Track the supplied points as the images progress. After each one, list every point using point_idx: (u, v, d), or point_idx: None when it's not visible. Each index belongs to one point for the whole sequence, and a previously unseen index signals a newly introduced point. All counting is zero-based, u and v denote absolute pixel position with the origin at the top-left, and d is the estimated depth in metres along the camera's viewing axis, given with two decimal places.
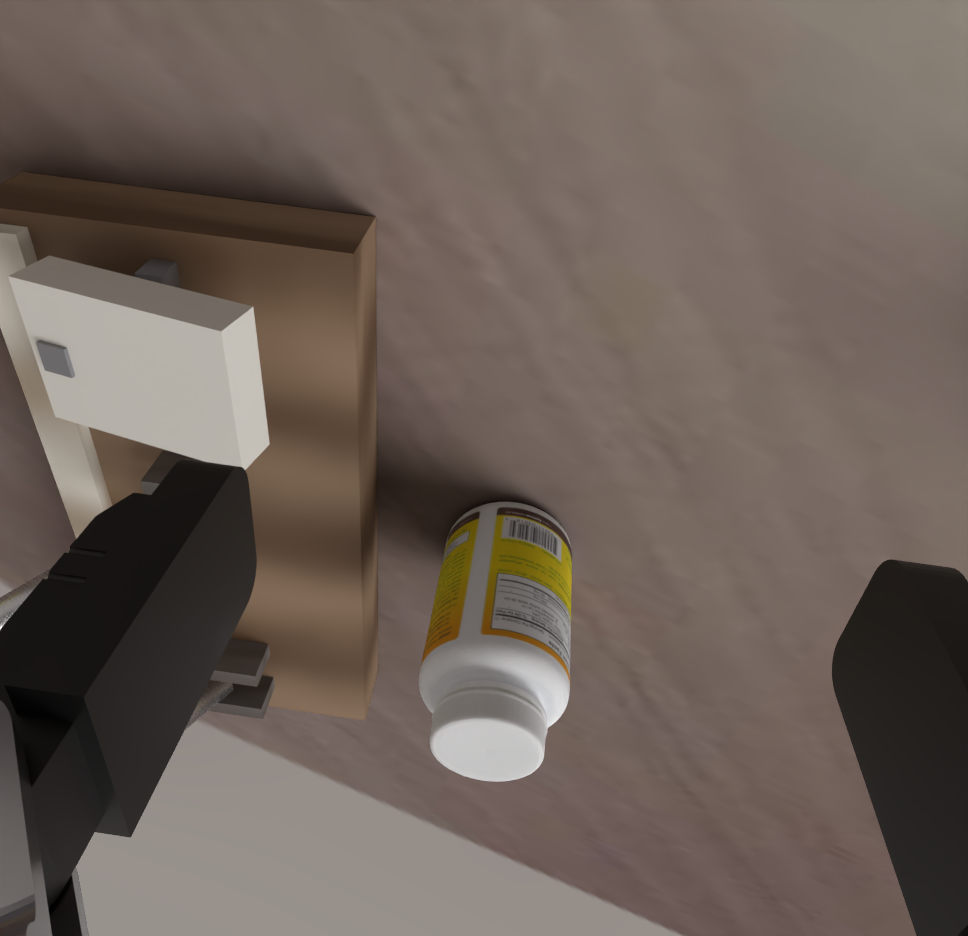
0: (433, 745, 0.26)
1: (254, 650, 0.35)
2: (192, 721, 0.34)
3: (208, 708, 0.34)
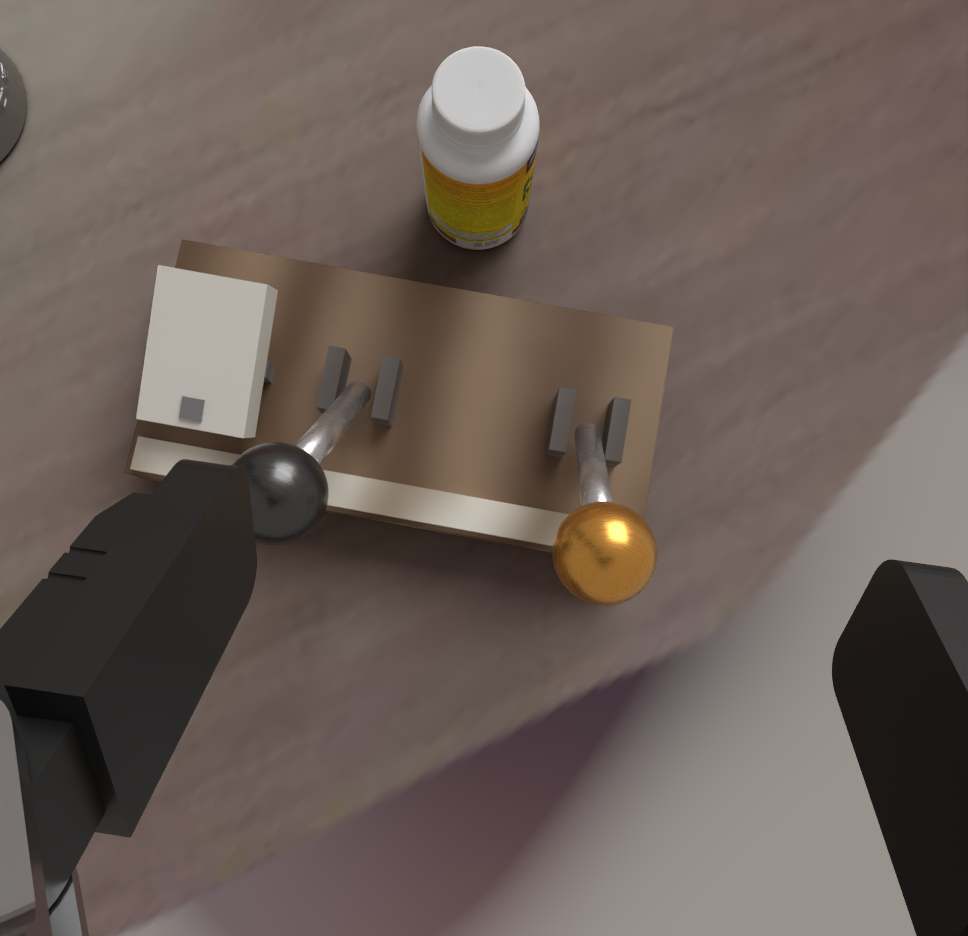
0: (472, 128, 0.31)
1: (554, 403, 0.37)
2: (593, 439, 0.33)
3: (592, 432, 0.34)
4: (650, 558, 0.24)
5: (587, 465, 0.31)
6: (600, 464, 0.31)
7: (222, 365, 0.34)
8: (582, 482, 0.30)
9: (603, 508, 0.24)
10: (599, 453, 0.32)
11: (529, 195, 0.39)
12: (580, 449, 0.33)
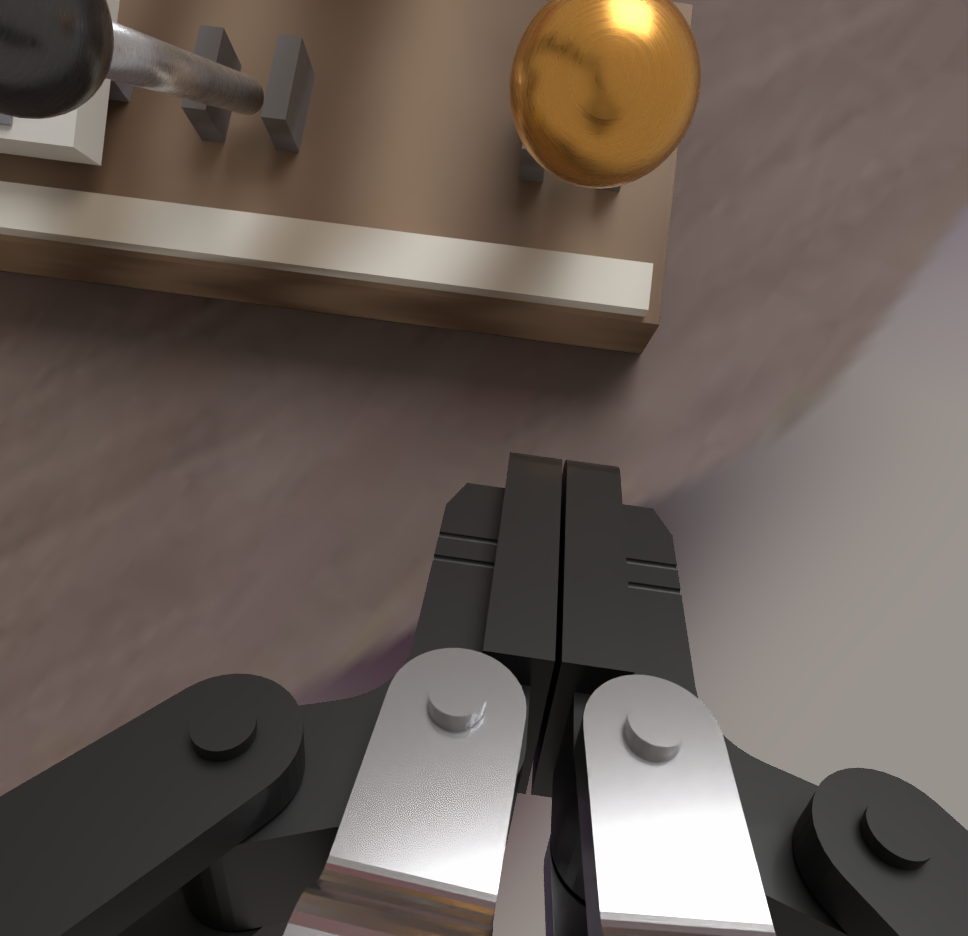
0: None
1: None
2: None
3: None
4: (689, 50, 0.13)
5: None
6: None
7: None
8: None
9: None
10: None
11: None
12: None
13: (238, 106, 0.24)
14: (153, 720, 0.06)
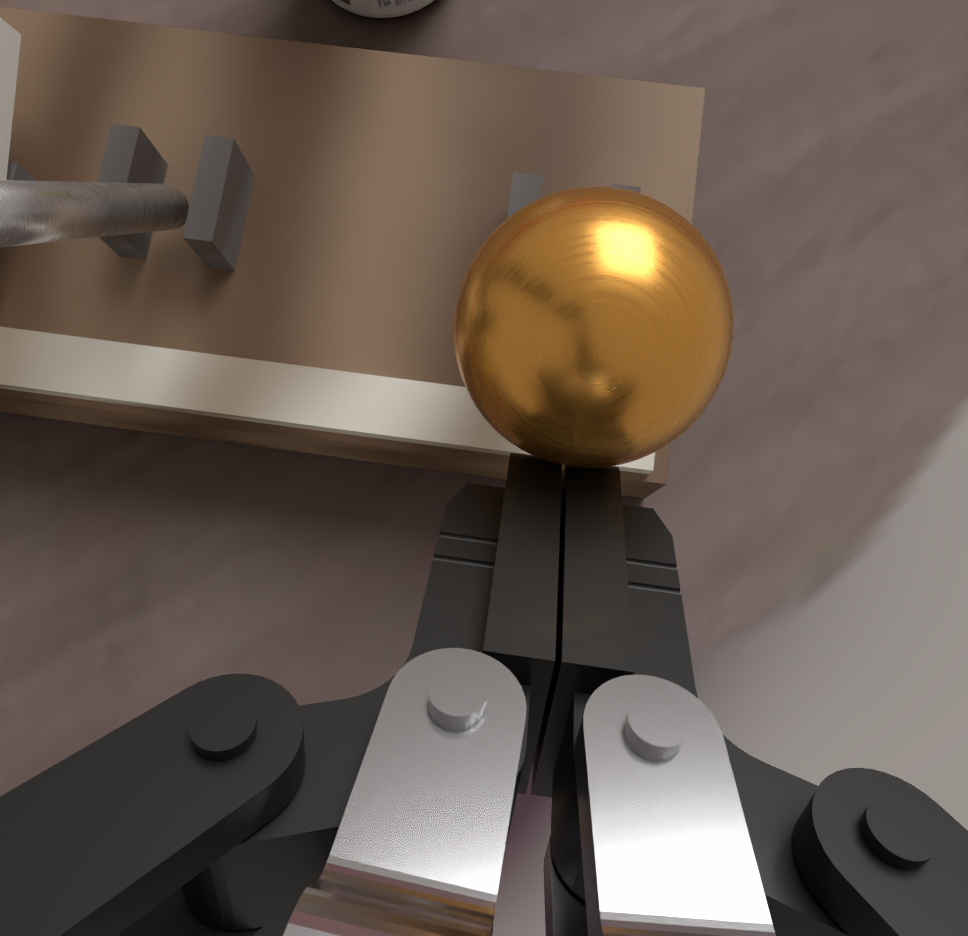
0: None
1: None
2: None
3: None
4: (719, 307, 0.08)
5: None
6: None
7: None
8: None
9: (579, 188, 0.09)
10: None
11: None
12: None
13: (153, 228, 0.19)
14: (153, 720, 0.06)
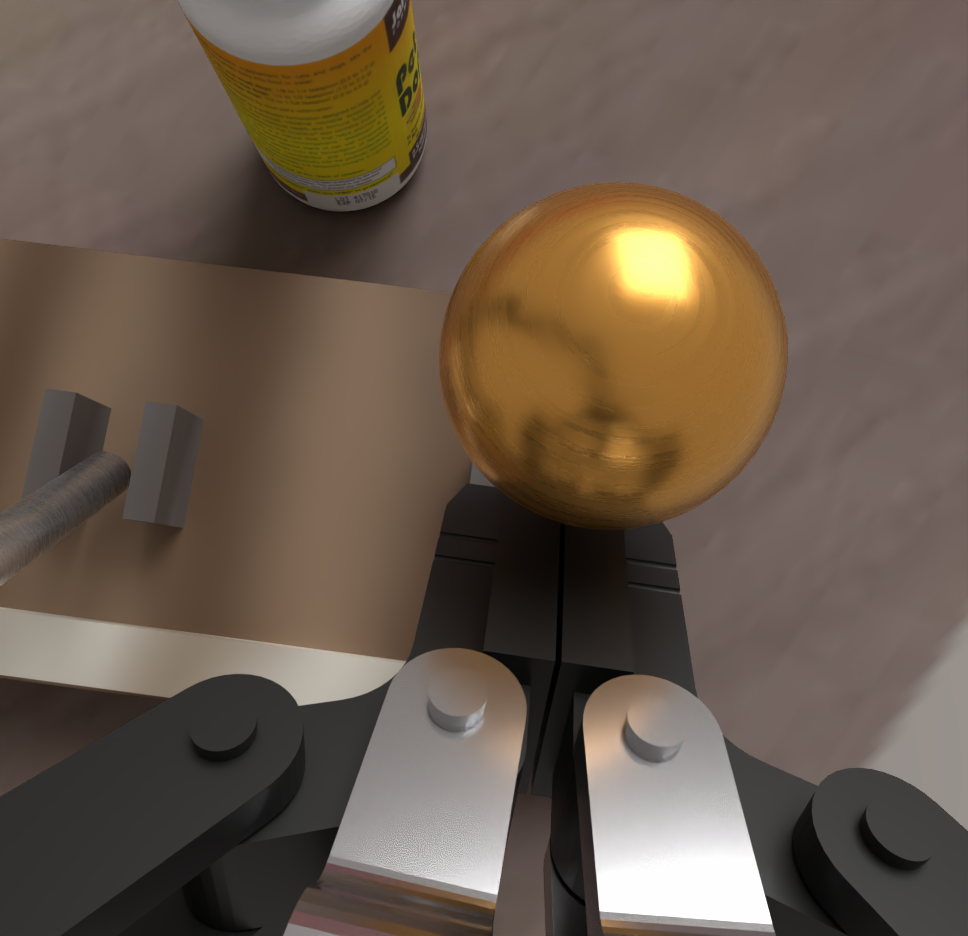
0: None
1: None
2: None
3: None
4: (771, 280, 0.07)
5: None
6: None
7: None
8: None
9: None
10: None
11: (420, 109, 0.23)
12: None
13: (89, 517, 0.18)
14: (153, 719, 0.06)
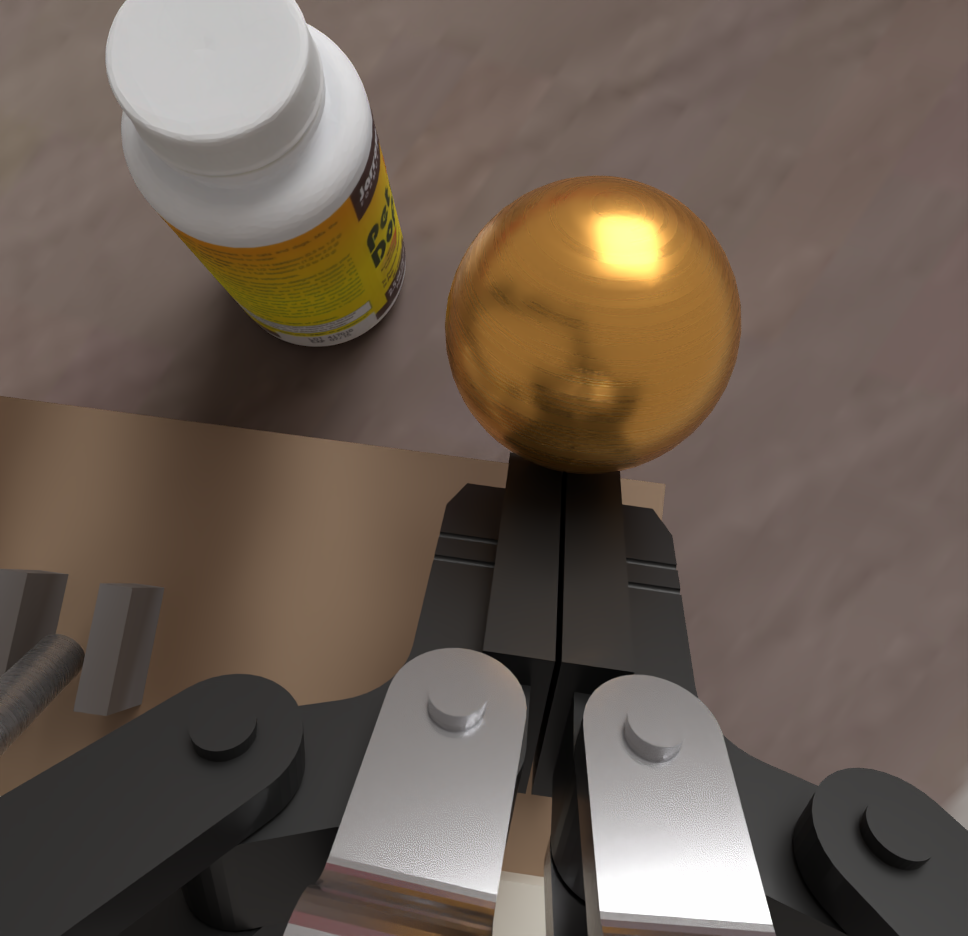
0: (190, 134, 0.14)
1: None
2: None
3: None
4: (718, 244, 0.08)
5: None
6: None
7: None
8: None
9: None
10: None
11: (396, 251, 0.22)
12: None
13: None
14: (153, 720, 0.06)
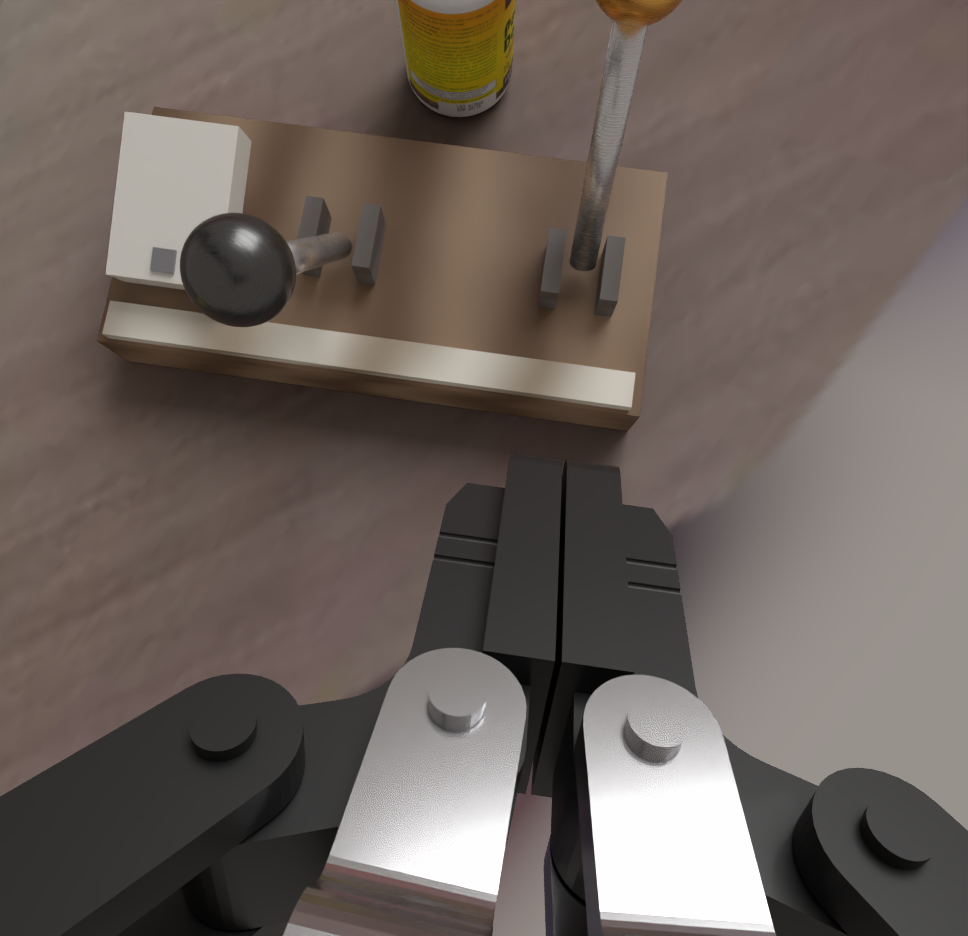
0: None
1: None
2: None
3: None
4: None
5: None
6: None
7: (194, 213, 0.33)
8: None
9: None
10: None
11: (512, 51, 0.38)
12: None
13: (336, 260, 0.33)
14: (153, 720, 0.06)
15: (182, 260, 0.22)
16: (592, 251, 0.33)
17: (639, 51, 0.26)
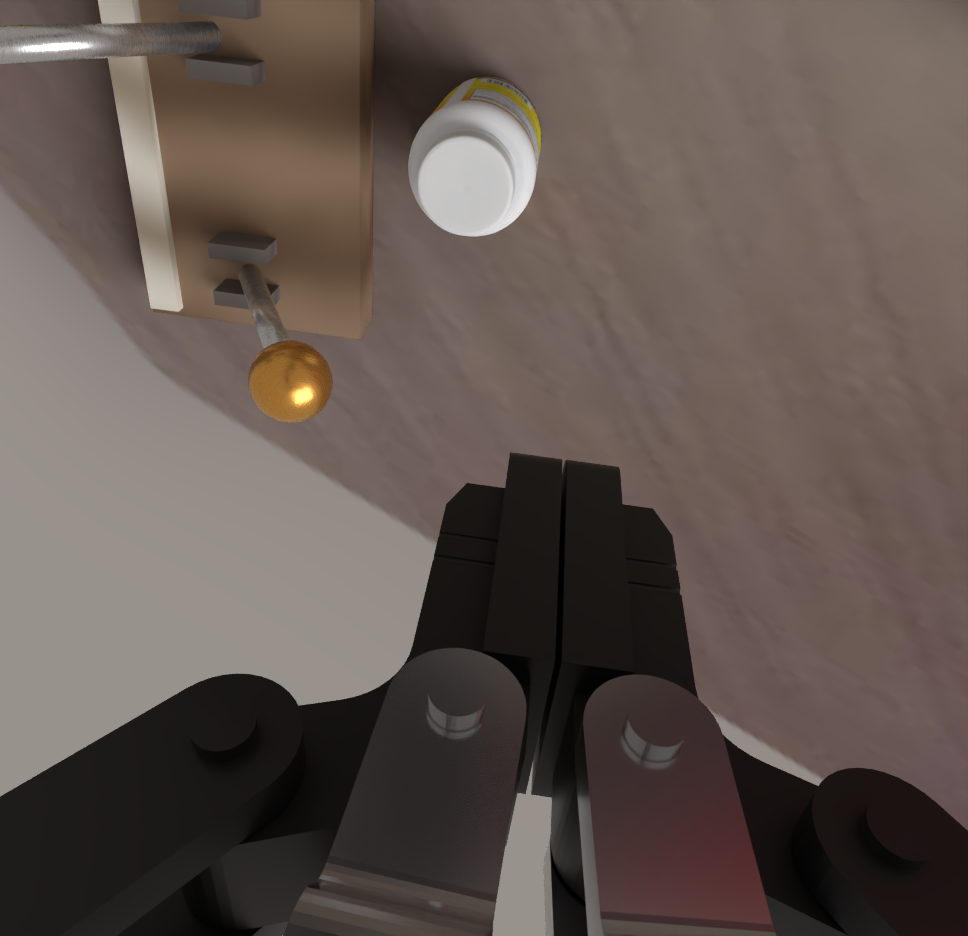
0: (420, 184, 0.31)
1: (263, 240, 0.40)
2: None
3: None
4: (311, 417, 0.32)
5: (276, 309, 0.36)
6: None
7: None
8: (274, 317, 0.35)
9: (330, 371, 0.32)
10: None
11: None
12: (264, 288, 0.38)
13: None
14: (153, 720, 0.06)
15: None
16: None
17: None
